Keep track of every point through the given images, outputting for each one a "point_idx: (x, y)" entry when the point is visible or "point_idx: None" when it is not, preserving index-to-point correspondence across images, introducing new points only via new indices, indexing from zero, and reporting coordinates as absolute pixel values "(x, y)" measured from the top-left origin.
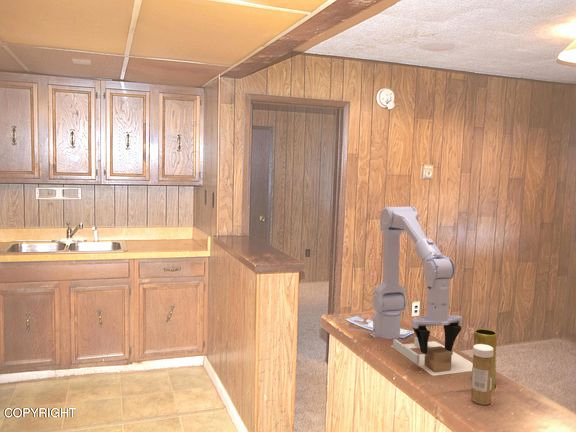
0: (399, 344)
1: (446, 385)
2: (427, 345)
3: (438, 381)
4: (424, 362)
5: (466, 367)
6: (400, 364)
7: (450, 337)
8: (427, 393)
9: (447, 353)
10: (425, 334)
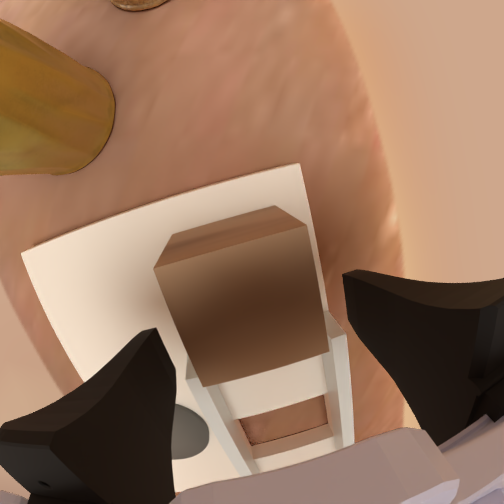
0: (352, 440)
1: (236, 114)
2: (378, 286)
3: (261, 161)
4: None
5: (82, 276)
6: (361, 344)
7: (130, 401)
8: (348, 51)
9: (191, 256)
10: (496, 286)
